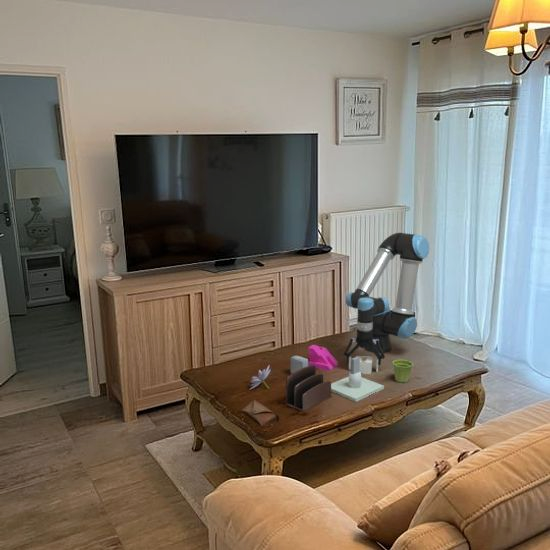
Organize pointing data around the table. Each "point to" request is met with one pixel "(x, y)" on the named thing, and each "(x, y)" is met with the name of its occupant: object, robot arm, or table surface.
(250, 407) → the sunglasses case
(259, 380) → the water lily
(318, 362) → the bracket
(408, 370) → the plant pot
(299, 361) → the medicine box
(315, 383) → the letter holder
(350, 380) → the shaft stand
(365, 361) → the slotted block
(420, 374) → the table surface
